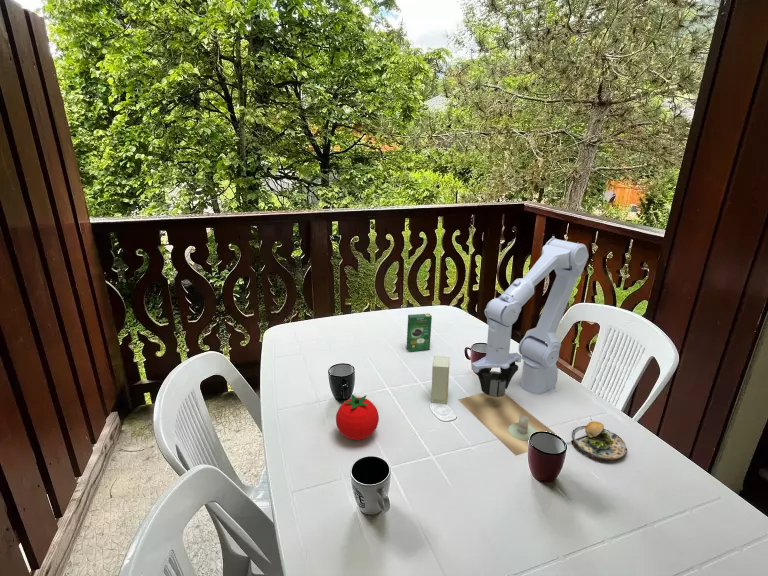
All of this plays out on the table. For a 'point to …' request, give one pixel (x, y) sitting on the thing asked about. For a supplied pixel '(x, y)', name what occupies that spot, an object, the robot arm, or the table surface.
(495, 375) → the ring
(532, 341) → the robot arm
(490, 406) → the board
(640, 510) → the table surface
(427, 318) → the coffee box
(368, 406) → the tomato
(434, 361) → the skincare box
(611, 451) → the burger
